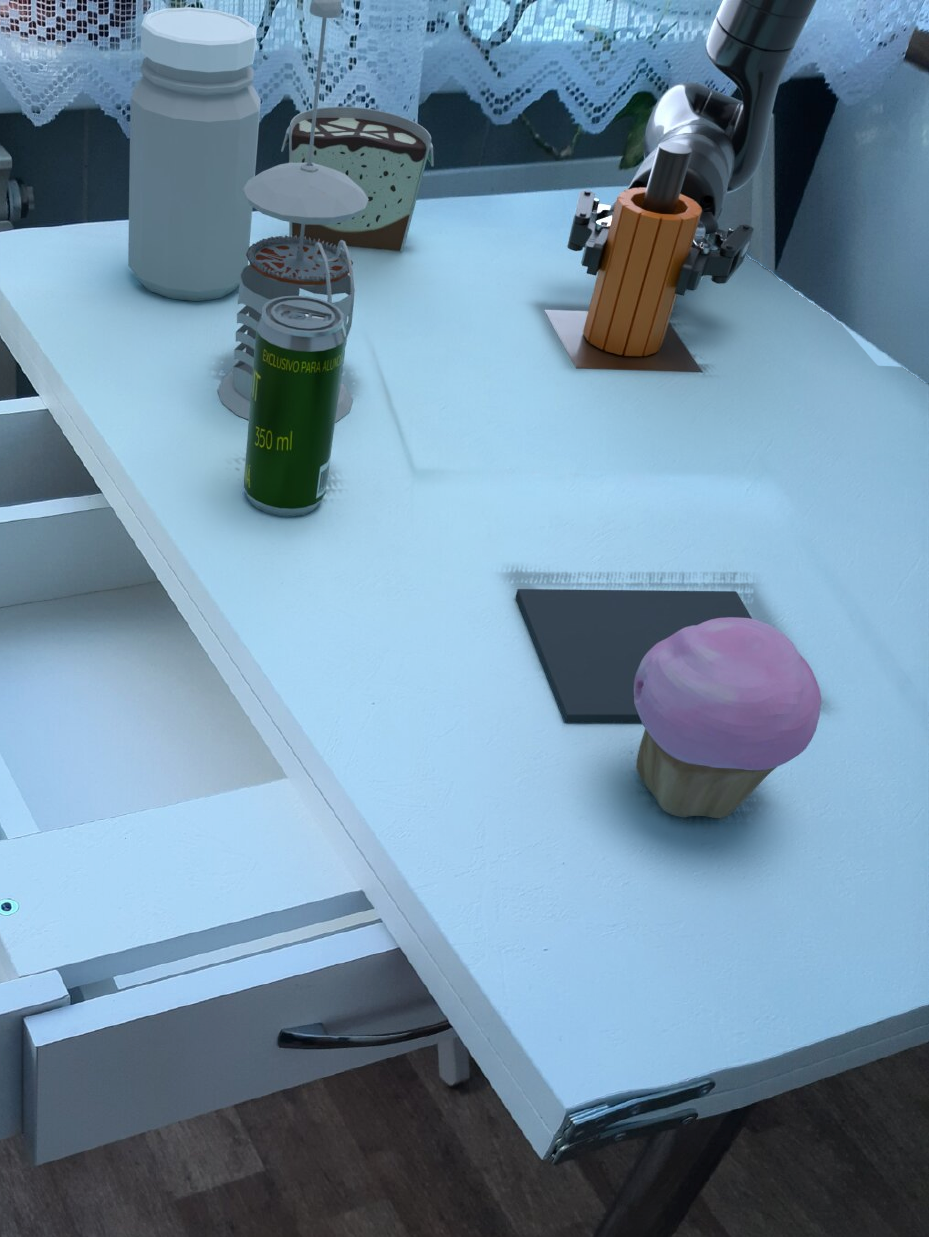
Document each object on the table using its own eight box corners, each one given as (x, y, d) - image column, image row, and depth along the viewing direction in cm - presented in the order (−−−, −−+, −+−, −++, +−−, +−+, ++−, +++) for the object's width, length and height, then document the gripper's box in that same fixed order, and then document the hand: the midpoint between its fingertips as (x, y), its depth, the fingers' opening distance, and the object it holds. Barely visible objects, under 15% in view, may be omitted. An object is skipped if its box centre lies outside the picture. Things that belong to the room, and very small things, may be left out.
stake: (659, 328, 112) (719, 126, 102) (698, 387, 106) (767, 177, 95) (540, 324, 111) (588, 119, 100) (572, 383, 105) (627, 171, 94)
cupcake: (742, 744, 76) (810, 590, 69) (792, 856, 70) (872, 700, 63) (585, 740, 75) (637, 583, 68) (621, 852, 70) (682, 694, 62)
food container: (413, 238, 121) (433, 113, 114) (417, 267, 117) (438, 139, 110) (273, 225, 121) (284, 98, 114) (271, 253, 117) (283, 123, 109)
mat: (733, 599, 86) (736, 590, 86) (804, 722, 78) (808, 714, 78) (515, 597, 84) (517, 588, 84) (564, 723, 76) (567, 714, 76)
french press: (318, 357, 104) (365, -34, 86) (387, 432, 97) (454, 23, 79) (197, 371, 101) (219, -31, 83) (259, 450, 94) (297, 29, 76)
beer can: (328, 482, 92) (352, 301, 83) (319, 524, 88) (343, 340, 79) (248, 470, 92) (264, 289, 83) (236, 512, 88) (251, 327, 80)
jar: (108, 290, 109) (109, 29, 96) (152, 245, 116) (159, -4, 103) (225, 316, 108) (243, 55, 95) (263, 269, 114) (285, 19, 101)
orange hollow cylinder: (648, 323, 110) (686, 189, 103) (670, 358, 106) (712, 221, 99) (575, 320, 109) (608, 186, 102) (595, 355, 105) (631, 218, 98)
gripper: (601, 129, 111) (555, 197, 100) (781, 166, 108) (754, 240, 97) (577, 226, 117) (532, 300, 106) (748, 264, 114) (719, 344, 103)
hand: (638, 271), depth 102 cm, fingers closed on orange hollow cylinder, 6 cm apart
